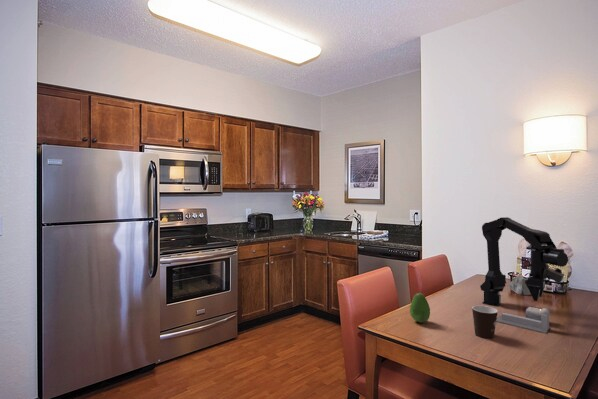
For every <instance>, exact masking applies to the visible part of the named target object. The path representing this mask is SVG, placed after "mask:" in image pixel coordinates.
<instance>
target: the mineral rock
mask: <svg viewBox="0 0 598 399" xmlns="http://www.w3.org/2000/svg"><path fill="white" fill-rule="evenodd" d="M525 279H526V278H525V277H523V275H522V274H518V275H516V276H515V277H514V278H513V280H512V281H510V283H509V284H508V287H509V289H510V290H511V291H513V292H514V293H515V294H517V295H520V296H530V295H531V293H530V291H529V289H528V287H527V286H526V284H525Z"/></svg>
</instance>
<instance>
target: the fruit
mask: <svg viewBox="0 0 598 399" xmlns="http://www.w3.org/2000/svg"><path fill="white" fill-rule="evenodd" d="M409 313H410V316H411V318H412V319H413V320H414V321H415V322H418V323H421V324H422V323H426V322H428V320H429V319H430V315H431V308H430V304H429V302H428V300H427V298H426V296H425V295H424V294H423V293H421V292H417V293H415V294H414V295H413V297H412V301H411V303H410V307H409Z"/></svg>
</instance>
